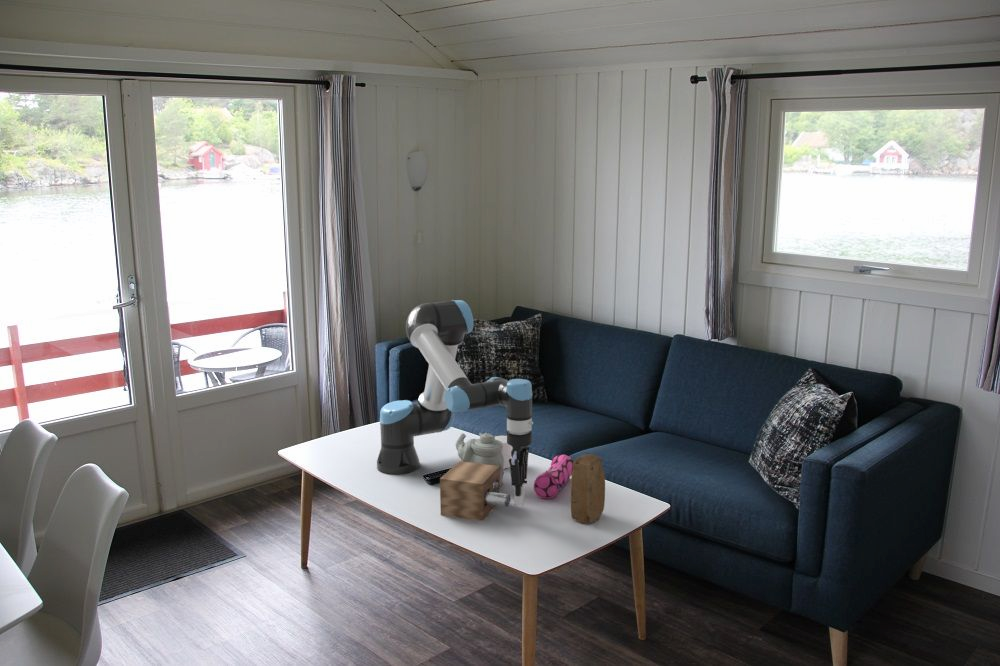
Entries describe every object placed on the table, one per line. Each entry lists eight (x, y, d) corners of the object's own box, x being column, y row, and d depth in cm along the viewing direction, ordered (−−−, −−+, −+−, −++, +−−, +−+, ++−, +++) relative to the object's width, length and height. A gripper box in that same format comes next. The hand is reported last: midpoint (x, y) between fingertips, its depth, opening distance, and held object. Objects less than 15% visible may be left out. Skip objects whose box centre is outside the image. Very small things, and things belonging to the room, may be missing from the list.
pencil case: (561, 502, 278) (561, 473, 276) (532, 499, 281) (532, 470, 279) (576, 479, 298) (577, 451, 295) (549, 476, 301) (549, 448, 298)
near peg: (463, 502, 268) (463, 491, 267) (468, 498, 271) (468, 486, 270) (506, 508, 263) (506, 497, 262) (510, 504, 266) (510, 492, 266)
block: (588, 527, 259) (589, 464, 255) (567, 520, 264) (568, 458, 260) (608, 515, 268) (609, 454, 263) (588, 509, 272) (589, 449, 268)
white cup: (513, 462, 314) (513, 435, 312) (512, 469, 306) (512, 443, 304) (492, 461, 314) (492, 435, 312) (490, 469, 307) (489, 442, 305)
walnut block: (440, 514, 269) (439, 478, 266) (459, 495, 283) (459, 461, 281) (482, 520, 264) (482, 484, 262) (500, 501, 279) (499, 466, 276)
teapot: (455, 476, 301) (454, 424, 297) (498, 473, 303) (498, 421, 299) (461, 494, 285) (460, 440, 281) (506, 490, 287) (506, 437, 283)
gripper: (524, 439, 251) (524, 514, 256) (537, 425, 263) (537, 498, 268) (500, 436, 254) (500, 511, 259) (514, 423, 266) (514, 494, 271)
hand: (519, 504), depth 263 cm, fingers closed
